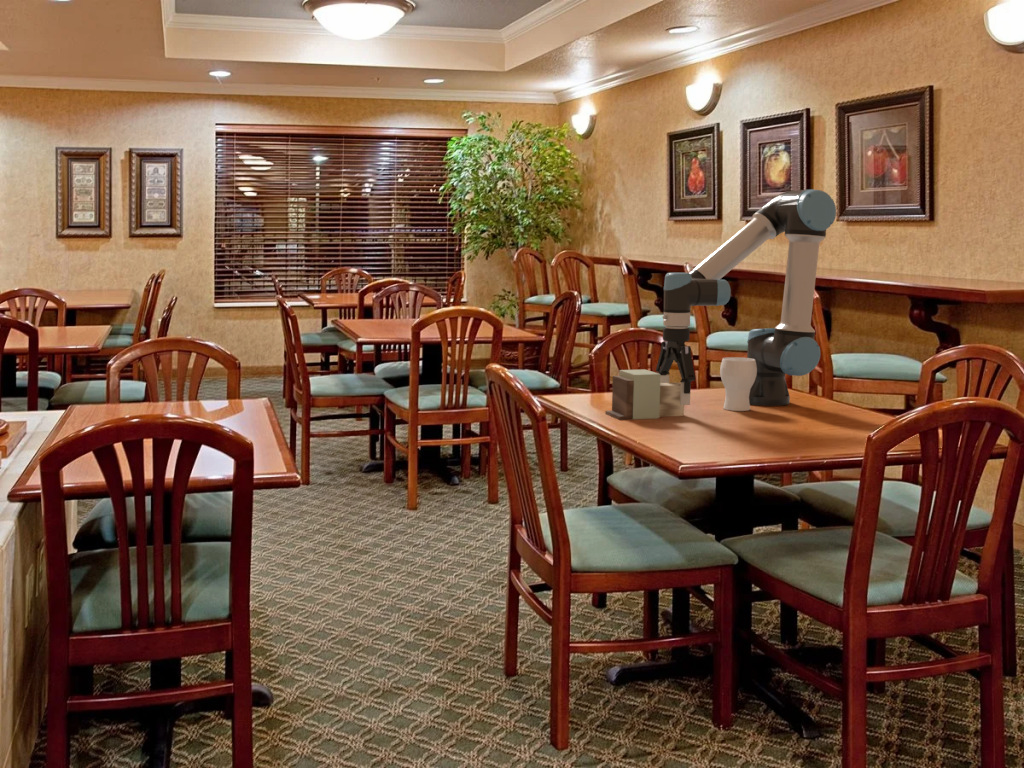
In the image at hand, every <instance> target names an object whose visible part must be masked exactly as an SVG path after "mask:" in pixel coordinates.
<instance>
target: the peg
mask: <svg viewBox="0 0 1024 768" xmlns="http://www.w3.org/2000/svg"><path fill="white" fill-rule="evenodd" d="M680 392H681V382H680V383H679V382H669V383H660V406H659V418H660V417H681V416H683V417H684V416H685V405H680Z"/></svg>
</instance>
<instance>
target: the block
mask: <svg viewBox="0 0 1024 768" xmlns="http://www.w3.org/2000/svg"><path fill="white" fill-rule="evenodd" d="M618 371H619V373H618V374H619V375H618V376H622V377H625V378H628V379H631V380H634V386H633V418H632V419H631V420H646V419H647V420H648V419H649V420H651V419H660V417H659V406H660V377H661V374H659V372H655V371H651V370H650V369H649V370H648V369H645V368H644V369H619V370H618Z"/></svg>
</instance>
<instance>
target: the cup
mask: <svg viewBox="0 0 1024 768" xmlns="http://www.w3.org/2000/svg"><path fill="white" fill-rule="evenodd" d="M721 359H722V360H721V363H720V366H719V367H720V369H719V375H720V378H721V382H722V385H723V386H724V392H725V398H724V404H723V409H724V410H727V411H733V412H734V411H735V412H744V411H745V412H746V411H750V410H751V404H750V403H749V394H750V389H751V387H752V385H753V383H754V381H755V378H756V375H757V366H756V360H755V359H751V358H747V357H741V356H740V357H739V356H738V357H733V356H730V357H722V358H721Z"/></svg>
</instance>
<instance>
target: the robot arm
mask: <svg viewBox="0 0 1024 768" xmlns="http://www.w3.org/2000/svg"><path fill="white" fill-rule="evenodd" d="M836 216H837V208H836V203H835V201H834V199H833V198H832V197H831V196H830V194H828V193H827V192H826V191H824V190H820V189H812V188H811V189H810V188H809V189H798V190H786V191H784V192H782V193H779V194H778V195H776V196H775V197H773V198H772V199H771V200H769V201H768V202H766V203H765V204H764V205H763V206H761V207H760V209H758V210H757V211H756V212H755V213H753V214H752V216H751V217H752V218H751V220H750V221H749V222H748V223H746V225H744V226H743V227H742V228H741V229H739V230H737V232H736V233H735V234H733V236H731V237H730V238H729V239H728V240H726V241H725V242H724V243H723V244H721V246H719V247H718V248H717V249H716V250H714V251H713V252H712V253H711V254H709V255H708V256H707V257H706V258H705V259H704V260H702V261H701V262H700V263H699V264H697V266H696V267H694V268H693V269H691V270H690V271H689V272H667V273H666V274H665V276H664V283H663V285H664V286H663V316H662V322H663V326H664V328H663V329H662V340H663V341H661V347H660V352H659V356H658V360H657V365H656V369H655V371H656V372H655V373H659V374H661V377H660V383H670V371H671V368H672V366H673V363H674V362H675V363H676V364H677V368H678V371H679V374H680V377H681V380H680V384H681V392H680V405H684V406H690V405H691V389H692V388H691V384H692V382H693V381H695V380H696V374H695V369H694V363H693V359H692V350H691V345H690V346H689V345H687V346H686V345H685V344H686V342H687V343H688V342H689V341H690V336H691V335H690V331H691V329H690V328H689V327H690V326H691V308H692V307H695V306H696V307H697V306H698V307H699V306H701V307H703V306H705V307H711V306H713V307H714V306H715V307H718V306H725V305H727V303H729V301H730V299H731V294H732V293H731V292H732V289H731V286H730V283H729V282H728V281H727V280H726V279H722V278H723V277H725V276H726V275H727V274H728V273H729V272H730V271H732V270H733V269H734V268H736V267H737V266H738V265H739V264H740V263H741V262H742V261H744V260H746V258H747V257H749V256H750V255H751V254H752V253H753V252H755V251H757V249H758V248H760V246H762V245H763V244H764V243H766V242H767V241H768V240H774V239H775V238H777V237H778V236H779V235H781V234H783V233H784V237H785V238H786V239H787V241H788V243H789V244H788V251H787V260H786V270H785V281H784V288H783V298H782V307H781V315H780V322H779V324H777V325H775V327H773V328H771V327H770V328H769V327H768V328H753V329H751V330H750V331H749V332H748V335H747V341H746V342H747V352H746V353H747V355H746V358H751V359H755V360H756V366H757V375H756V378H755V381H754V383H753V385H752V387H751V389H750V394H749V403H750V405H753V406H755V405H756V406H762V407H763V406H765V407H767V406H769V407H775V406H776V407H777V406H786V405H789V404H790V401H791V400H790V399H791V396H790V392H789V387H788V385H787V381H786V375H787V376H794V377H795V376H797V377H802V376H805V375H808V374H809V373H811V372H812V371H813V370H814V369H815V368H816V367H817V366H818V365H819V362H820V359H821V347H820V345H818V342H817V341H816V340H815V336H816V330H815V329H814V328H813V327H812V325H811V323H812V314H813V307H814V306H813V305H814V299H815V297H814V295H815V288H816V279H817V278H816V276H817V271H818V270H817V269H818V268H817V267H818V261H819V260H818V259H819V252H820V251H819V249H820V243H822V241H824V240H825V239H826V236H827V229H829V228H830V227H831V225H833V224H834V222H835V219H836Z"/></svg>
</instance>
